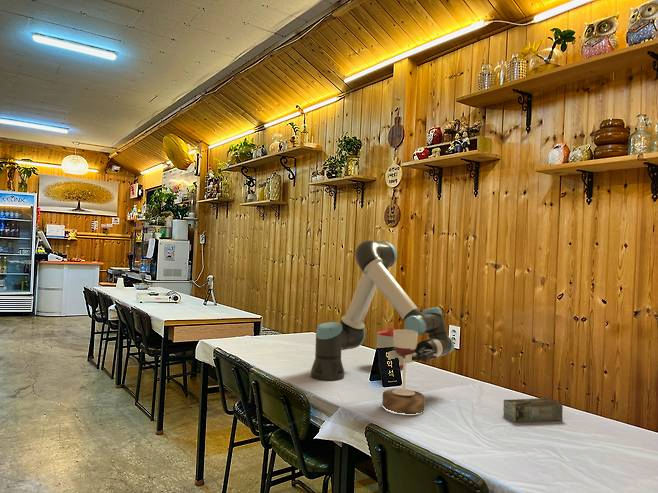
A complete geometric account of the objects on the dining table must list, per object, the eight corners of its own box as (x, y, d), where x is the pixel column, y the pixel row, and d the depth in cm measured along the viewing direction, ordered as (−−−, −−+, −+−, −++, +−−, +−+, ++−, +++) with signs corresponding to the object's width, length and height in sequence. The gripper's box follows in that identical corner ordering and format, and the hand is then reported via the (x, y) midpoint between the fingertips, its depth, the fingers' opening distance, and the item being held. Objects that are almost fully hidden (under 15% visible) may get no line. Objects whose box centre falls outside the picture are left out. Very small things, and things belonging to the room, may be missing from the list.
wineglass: (419, 391, 178) (421, 331, 179) (409, 397, 170) (411, 334, 170) (397, 387, 183) (399, 328, 183) (386, 392, 175) (388, 331, 175)
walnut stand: (389, 416, 168) (389, 401, 168) (377, 402, 183) (377, 389, 183) (430, 415, 170) (431, 401, 170) (415, 402, 185) (416, 388, 185)
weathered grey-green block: (501, 415, 174) (502, 397, 174) (548, 414, 178) (549, 395, 178) (515, 423, 166) (515, 404, 166) (564, 421, 170) (564, 402, 170)
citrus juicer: (398, 374, 227) (399, 331, 228) (368, 367, 239) (370, 326, 239) (416, 368, 239) (417, 328, 239) (387, 362, 251) (388, 323, 251)
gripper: (451, 363, 184) (421, 373, 166) (406, 354, 197) (374, 363, 179) (452, 343, 184) (421, 351, 167) (407, 336, 197) (375, 342, 179)
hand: (397, 357), depth 173 cm, fingers closed on wineglass, 7 cm apart
